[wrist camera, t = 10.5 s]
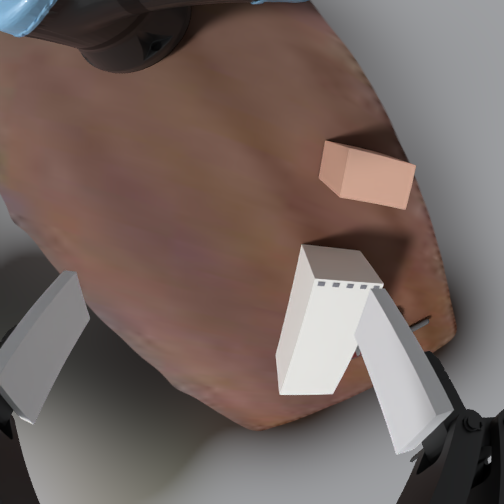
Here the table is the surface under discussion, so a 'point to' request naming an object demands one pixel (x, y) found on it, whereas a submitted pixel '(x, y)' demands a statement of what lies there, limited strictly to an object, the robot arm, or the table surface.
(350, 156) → the peach rectangular block
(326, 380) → the block
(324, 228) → the table surface
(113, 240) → the table surface
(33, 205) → the table surface
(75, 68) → the table surface
